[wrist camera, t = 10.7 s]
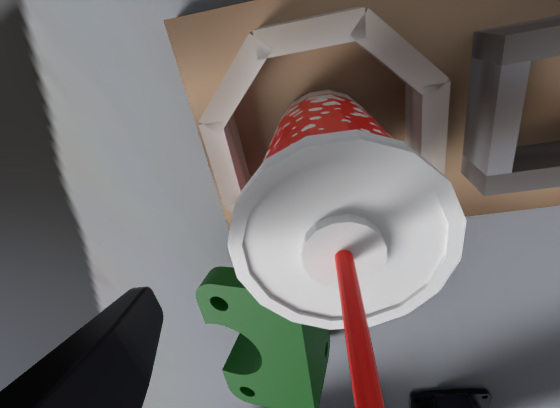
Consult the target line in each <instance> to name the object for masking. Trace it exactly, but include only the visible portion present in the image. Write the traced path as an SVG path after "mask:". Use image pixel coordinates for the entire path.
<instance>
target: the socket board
mask: <svg viewBox="0 0 560 408" xmlns="http://www.w3.org/2000/svg"><path fill="white" fill-rule="evenodd" d="M164 23H165V27H166V30H167V33H168V36H169V39H170V43H171V46H172V49H173V52H174V55H175V58H176V62H177V65H178V68H179V71H180V74H181V78H182V81H183V84H184V87H185V90H186V94H187V97H188V100H189V103H190V106H191V110H192V113H193V116H194V119H195V122H196V126H197V129H198V132H199V135H200V138H201V141H202V145H203V148H204V151H205V154H206V157H207V161H208V164H209V167H210V170H211V173H212V177H213V180H214V183H215V186H216V189H217V193H218V196H219V199H220V202H221V205H222V209H223V212H224V215H225V218H226V221H227V224H228V228H229V231H230V226H231V221H232V215H233V210H234V206H235V203H236V201H237V199H238V198H239V196H240V192H241V190H242V189H243V188H244V187H245V185H246V184H247V183H248V181H249V180H250V179H251V177H252V176H253V175H254V173H255V172H256V171H257V170H258V168H259V167H260V166H261V164H262V162H263V160H264V158H265V155H266V153H267V150H268V148H269V146H270V143H271V141H272V139H273V136H274V134H275V131H276V129H277V127H278V124H279V122H280V119H281V117H282V116H283V115H284V113H285V112H286V111H287V109H288V108H289V107H290V105H291V104H292V103H293V102H294V101H296V100H298V99H299V98H301V97H303V96H304V95H306V94H308V93H310V92H316V91H323V90H332V91H335V92H339V93H343V94H347V95H348V96H350V97H351V98H352V99H353V100H354V101H356V102H357V103H358V104H359V105H361V106H362V107H363V108H364V109H365V110H366V111H367V112H368V113H369V114H370V115H371V116H372V117H373V118H374V119H375V120H376V121H377V122H378V123H379V125H380V126H381V127H382V128H383V129H384V130H385V131H386V132H387V133H388V134H389V135H390V136H391V137H392V138H393V139H396V140H400V141H404V142H405V143H406V144H407V145H409V146H410V147H411V148H412V149H414V150H415V151H416V152H417V153H419V154H420V155H421V156H422V157H423V158H425V159H426V160H427V161H428V162H430V163H431V164H432V165H433V166H435V167H436V168H437V169H438V171H439V172H441V173H442V174H443V175H444V176H446V177H447V178H448V180H449V181H450V182H451V184H452V186H453V189H454V191H455V194H456V196H457V199H458V201H459V203H460V206H461V208H462V211H463V213H464V216H473V215H482V214H490V213H499V212H507V211H516V210H524V209H533V208H541V207H550V206H558V205H560V0H253V1H249V2H244V3H240V4H235V5H231V6H226V7H222V8H217V9H212V10H208V11H203V12H199V13H194V14H190V15H185V16H181V17H176V18H172V19H167V20H164Z"/></svg>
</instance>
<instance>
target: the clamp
mask: <svg viewBox="0 0 560 408" xmlns="http://www.w3.org/2000/svg"><path fill="white" fill-rule="evenodd" d="M196 299H197V302H198V305H199V307H200V310H201V313H202V316H203V318H204V321H205V324H207V323H213V324H219V325H223V326H226V327H229V328H232V329H234V330H236V331H238V332H239V333H240V334H239V336H238V338H237V340H236V342H235V344H234V346H233V348H232V351H231V353H230V355H229V357H228V359H227V361H226V363H225V365H224V368H223V373H224V376H225V379H226V381H227V384H228V387H229V389H230V391H231V392H232V393H233V394H234V395H235V396H236V397H238V398H239V399H241V400H243V401H245V402H248V403H251V404H256V405H260V406H264V407H268V408H319V403H320V398H321V393H322V388H323V383H324V378H325V373H326V368H327V363H328V357H329V348H330V332H329V330H328V329H323V328H319V327H314V326H309V325H304V324H299V323H295V322H291V321H289V320H288V319H286V318H284V317H282V316H280V315H278V314H277V313H275V312H273V311H271V310H269V309H268V308H266V307H264V306H262V305H260V304H259V303H258V302H257V300H256V299H255V298H254V297H253V296H252V295H251V293H250V292H249V291H248V290H247V289H246V288H245V287H244V285H243V284H242V283H241V282H240V281H239V280H238V279H237V277H236V273H235V270H234V267H233V268H231V267H216V268H213V269H212V270H211V271H210V272H209V273H208V275H207V276H206V278H205V279H204V280H203V282H202V283H201V285H200V286H199V288H198V289H197V291H196Z"/></svg>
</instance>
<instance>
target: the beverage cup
mask: <svg viewBox="0 0 560 408" xmlns="http://www.w3.org/2000/svg"><path fill="white" fill-rule="evenodd" d="M465 228H466V218H465V216H464V213H463V211H462V208H461V206H460V203H459V201H458V199H457V196H456V194H455V191H454V189H453V186H452V184H451V182H450V181H449V180H448V178H447V177H446V176H444V175H443V174H442V173H441V172H439V171H438V169H437V168H436V167H435V166H433V165H432V164H431V163H430V162H428V161H427V160H426V159H425V158H423V157H422V156H421V155H420V154H419V153H417V152H416V151H415V150H414V149H412V148H411V147H410V146H409V145H407V144H406V143H405V142H404V141H400V140H396V139H393V138H392V137H391V136H390V135H389V134H388V133H387V132H386V131H385V130H384V129H383V128H382V127H381V126H380V125H379V123H378V122H377V121H376V120H375V119H374V118H373V117H372V116H371V115H370V114H369V113H368V112H367V111H366V110H365V109H364V108H363V107H362V106H361V105H359V104H358V103H357V102H356V101H354V100H353V99H352V98H351V97H350V96H348V95H347V94H343V93H339V92H335V91H332V90H323V91H316V92H310V93H308V94H306V95H304V96H303V97H301V98H299V99H298V100H296V101H294V102H293V103H292V104H291V105H290V107H289V108H288V109H287V111H286V112H285V113H284V115H283V116H282V117H281V119H280V122H279V124H278V127H277V129H276V131H275V134H274V136H273V139H272V141H271V143H270V146H269V148H268V150H267V153H266V155H265V158H264V160H263V162H262V164H261V166H260V167H259V168H258V170H257V171H256V172H255V173H254V175H253V176H252V177H251V179H250V180H249V181H248V183H247V184H246V185H245V187H244V188H243V189H242V190H241V192H240V196H239V198H238V199H237V201H236V203H235V206H234V210H233V215H232V221H231V226H230V231H229V236H228V241H227V246H228V250H229V253H230V256H231V260H232V263H233V266H234V270H235V273H236V277H237V279H238V280H239V281H240V282H241V283H242V284H243V285H244V287H245V288H246V289H247V290H248V291H249V292H250V293H251V295H252V296H253V297H254V298H255V299H256V300H257V302H258V303H259V304H260V305H262V306H264V307H266V308H268V309H269V310H271V311H273V312H275V313H277V314H278V315H280V316H282V317H284V318H286V319H288V320H289V321H291V322H295V323H299V324H304V325H309V326H314V327H319V328H323V329H328V330H335V329H344V331H345V338H346V346H347V353H348V360H349V368H350V375H351V383H352V390H353V397H354V405H355V408H385V405H384V400H383V395H382V391H381V386H380V381H379V376H378V372H377V367H376V362H375V357H374V353H373V348H372V343H371V338H370V334H369V329H368V327H372V326H375V325H378V324H381V323H384V322H387V321H389V320H392V319H395V318H398V317H401V316H404V315H407V314H409V313H410V312H411V311H413V310H414V309H416V308H417V307H418V306H420V305H421V304H422V303H424V302H425V301H427V300H428V299H429V298H431V297H432V296H434V295H435V294H436V293H438V292H439V291H440V290H441V288H442V287H443V285H444V284H445V282H446V281H447V279H448V278H449V276H450V275H451V273H452V272H453V270H454V269H455V267H456V266H457V264H458V263H459V262H460V260H461V257H462V249H463V242H464V235H465Z"/></svg>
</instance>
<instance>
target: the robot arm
mask: <svg viewBox="0 0 560 408" xmlns="http://www.w3.org/2000/svg"><path fill="white" fill-rule="evenodd" d="M162 323H163V311H162V309H161V307H160V305H159V303H158V301H157V299H156V297H155V295H154V293H153V291H152V289H150V288H149V287H138V288H132V289H130V290H129V291H127V292H126V293H125V294H124V295H122V296H121V297H120V298H118V299H117V300H116V301H115V302H113V303H112V304H111V305H110V306H108V307H107V308H106V309H104V310H103V311H102V312H101V313H99V314H98V315H97V316H96V317H94V318H93V319H92V320H90V321H89V322H88V323H87V324H85V325H84V326H83V327H82V328H80V329H79V330H78V331H76V332H75V333H74V334H73V335H71V336H70V337H69V338H68V339H66V340H65V341H64V342H62V343H61V344H60V345H59V346H57V347H56V348H55V349H54V350H52V351H51V352H50V353H48V354H47V355H46V356H45V357H44V358H42V359H41V360H40V361H38V362H37V363H36V364H35V365H33V366H32V367H31V368H29V369H28V370H27V371H26V372H24V373H23V374H22V375H21V376H19V377H18V378H17V379H15V380H14V381H13V382H12V383H10V384H9V385H8V386H7V387H5V388H4V389H3V390H1V391H0V408H142V405H143V402H144V399H145V396H146V393H147V389H148V386H149V382H150V378H151V374H152V370H153V365H154V361H155V356H156V351H157V347H158V342H159V337H160V333H161V328H162ZM490 401H491V394H490V392H489V391H488V390H486V389H476V390H456V391H436V392H416V393H412V394H410V396H409V408H489V405H490Z"/></svg>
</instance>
